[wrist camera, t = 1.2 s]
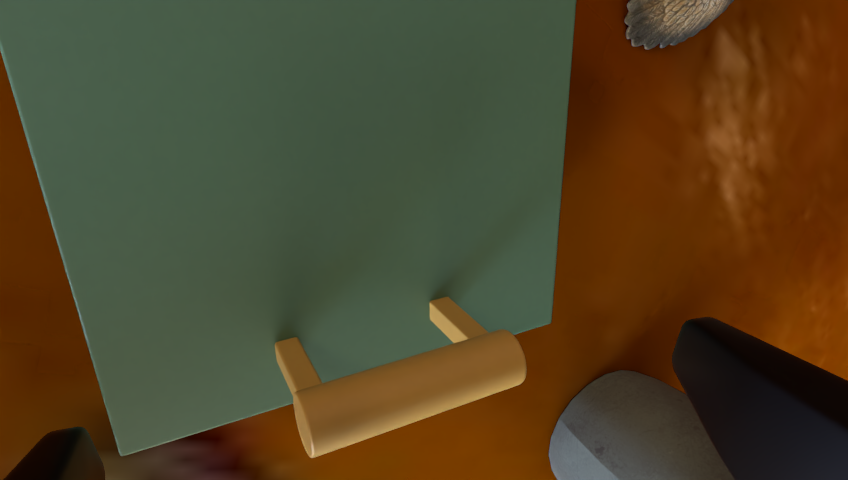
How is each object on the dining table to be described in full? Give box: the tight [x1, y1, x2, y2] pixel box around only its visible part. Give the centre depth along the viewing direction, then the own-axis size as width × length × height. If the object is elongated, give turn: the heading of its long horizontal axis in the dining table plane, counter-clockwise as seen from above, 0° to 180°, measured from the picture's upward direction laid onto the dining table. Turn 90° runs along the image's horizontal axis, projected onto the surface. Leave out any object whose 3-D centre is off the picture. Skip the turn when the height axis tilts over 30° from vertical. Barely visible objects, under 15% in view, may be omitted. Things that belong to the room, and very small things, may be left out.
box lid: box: [0, 0, 576, 458], centre depth 15 cm, size 12×15×5 cm
